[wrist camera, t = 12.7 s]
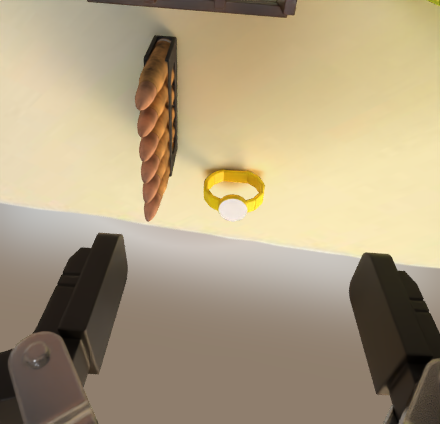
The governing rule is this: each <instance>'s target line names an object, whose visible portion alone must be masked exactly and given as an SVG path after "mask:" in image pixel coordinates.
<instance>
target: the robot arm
mask: <svg viewBox="0 0 440 424" xmlns="http://www.w3.org/2000/svg"><path fill="white" fill-rule="evenodd" d="M127 271H128V267H127V259H126V252H125V245H124V239H123V235H121V234H109V233H98V235H97V236H96V238H95V241H94V243H93V245H92V248H80V249H79V250H78V251H77V252H76V253H75V254H74V255H73V256H72V257H70V259H69V260H68V262H67V264H66V266H65V269H64V271H63V275H61V277H60V279H59V281H58V285H57V286H56V288H55V290H54V292H53V294H52V296H51V298H50V300H49V302H48V304H47V307H46V309H45V311H44V313H43V315H42V317H41V319H40V321H39V323H38V326H37V327H36V329H35V331H34V332H33V333H32V334H31V335H29V336H27V337H26V338H24V339H22V340H21V341H20V342H19V343H18V344H17V345H16V346H15V347H14V348H13V349H11V350H8V351H5V352H1V353H0V424H98V421H97V419H96V417H95V414H94V412H93V409H92V407H91V405H90V403H89V401H88V398H87V396H86V393H85V391H84V388H83V387H84V384H85V381H86V378H87V374H99V371H100V368H101V365H102V362H103V358H104V355H105V351H106V348H107V345H108V341H109V338H110V334H111V331H112V328H113V324H114V321H115V318H116V314H117V311H118V307H119V304H120V301H121V297H122V294H123V291H124V287H125V284H126V280H127ZM349 296H350V301H351V304H352V308H353V312H354V315H355V319H356V323H357V326H358V329H359V333H360V337H361V341H362V344H363V348H364V351H365V354H366V358H367V362H368V366H369V369H370V373H371V376H372V380H373V384H374V387H375V391H376V394H378V395H390V397H391V400H392V404H393V405H392V406H391V408H390V410H389V412H388V414H387V416H386V418H385V421H384V423H383V424H440V333H439V331H438V329H437V327H436V324H435V322H434V320H433V318H432V316H431V314H430V313H429V309H428V307H427V305H426V303H425V301H423V299H424V298H423V297H422V294H421V292H420V290H419V288H418V286H417V284H416V283H415V282H414V281H413V280H412V278H411V277H410V276H409V275H408V274H407V273H406V272H405V271H397V269H396V266H395V264H394V261H393V259H392V257H391V256H390V255H389V254H379V253H364V254H363V255H362V257H361V260H360V262H359V264H358V266H357V269H356V271H355V273H354V275H353V277H352V280H351V282H350V287H349Z"/></svg>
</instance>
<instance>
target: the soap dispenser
mask: <svg viewBox="0 0 440 424" xmlns="http://www.w3.org/2000/svg"><path fill="white" fill-rule="evenodd" d="M428 1H430V2H432V3H434V4H436V5H438V6H440V0H428Z"/></svg>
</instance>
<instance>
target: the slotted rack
mask: <svg viewBox="0 0 440 424" xmlns="http://www.w3.org/2000/svg"><path fill="white" fill-rule="evenodd" d="M87 1H88V2H96V3H109V4H121V5H133V6H146V7H158V8H171V9H183V10H195V11H208V12H220V13H233V14H245V15H257V16H270V17H282V18H287V15H295V9H296V4H297V0H277V2H264V1H252V0H87Z"/></svg>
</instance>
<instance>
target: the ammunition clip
mask: <svg viewBox="0 0 440 424" xmlns="http://www.w3.org/2000/svg"><path fill="white" fill-rule="evenodd" d="M135 103H136V107H137V109H138V110H141V111H140V115H139V118H138V123H137V128H138V134H139V136H140V137H142V139H141V142H140V147H139V153H140V158H141V160H142V161H143V162H142V167H141V176H142V180H143V182H144V184H143V199H144V201H145V205H144V213H145V219H146V221H148V222H149V221H150V220H152V218H153V217H154V216H155V214H156V212H157V210H158V208H159V205H160V202H161V199H162V196H163V194H164V192H165V190H166V187H167V183H168V178H169V176H172V171H173V166H174V162H175V157H176V152H177V38H176V37H168V36H154V38H153V40H152V42H151V44H150V46H149V48H148V50H147V52H146V55H145V57H144V69H143V71H142V73H141V75H140V78H139V86H138V89H137V92H136V96H135Z"/></svg>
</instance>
